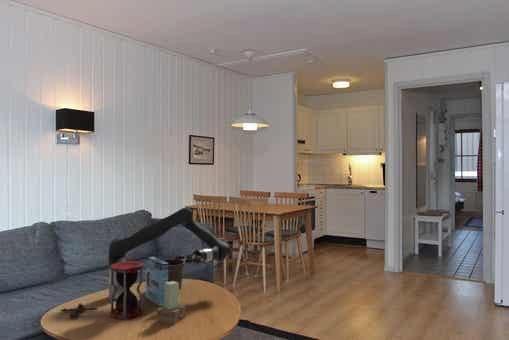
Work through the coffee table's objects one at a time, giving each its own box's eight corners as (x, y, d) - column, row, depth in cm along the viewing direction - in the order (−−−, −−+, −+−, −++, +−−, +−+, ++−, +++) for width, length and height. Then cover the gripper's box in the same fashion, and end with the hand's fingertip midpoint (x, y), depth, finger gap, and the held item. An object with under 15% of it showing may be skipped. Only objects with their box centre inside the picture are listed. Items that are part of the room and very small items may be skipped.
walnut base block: (174, 324, 197) (175, 312, 197) (157, 321, 200) (157, 309, 200) (185, 317, 206) (185, 305, 206) (168, 315, 210) (168, 303, 210)
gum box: (145, 297, 236) (145, 257, 236) (153, 295, 239) (153, 256, 239) (159, 306, 221) (160, 264, 221) (168, 305, 224) (168, 262, 224)
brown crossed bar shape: (54, 314, 201) (63, 301, 215) (54, 322, 201) (63, 309, 216) (92, 312, 203) (99, 300, 218) (92, 321, 204) (99, 308, 218)
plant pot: (171, 293, 244) (171, 266, 244) (152, 289, 253) (152, 262, 252) (190, 287, 257) (190, 261, 257) (171, 283, 266) (171, 258, 266)
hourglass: (107, 320, 201) (107, 269, 201) (113, 309, 217) (113, 261, 216) (141, 318, 203) (141, 268, 203) (144, 307, 219) (145, 260, 219)
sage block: (169, 309, 200) (169, 284, 200) (164, 307, 203) (164, 282, 204) (178, 307, 203) (178, 283, 203) (172, 305, 207) (173, 281, 207)
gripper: (194, 247, 238) (172, 251, 226) (211, 251, 229) (189, 255, 217) (194, 260, 238) (171, 264, 226) (211, 264, 229) (189, 269, 217)
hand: (180, 260), depth 221 cm, fingers open, 8 cm apart
